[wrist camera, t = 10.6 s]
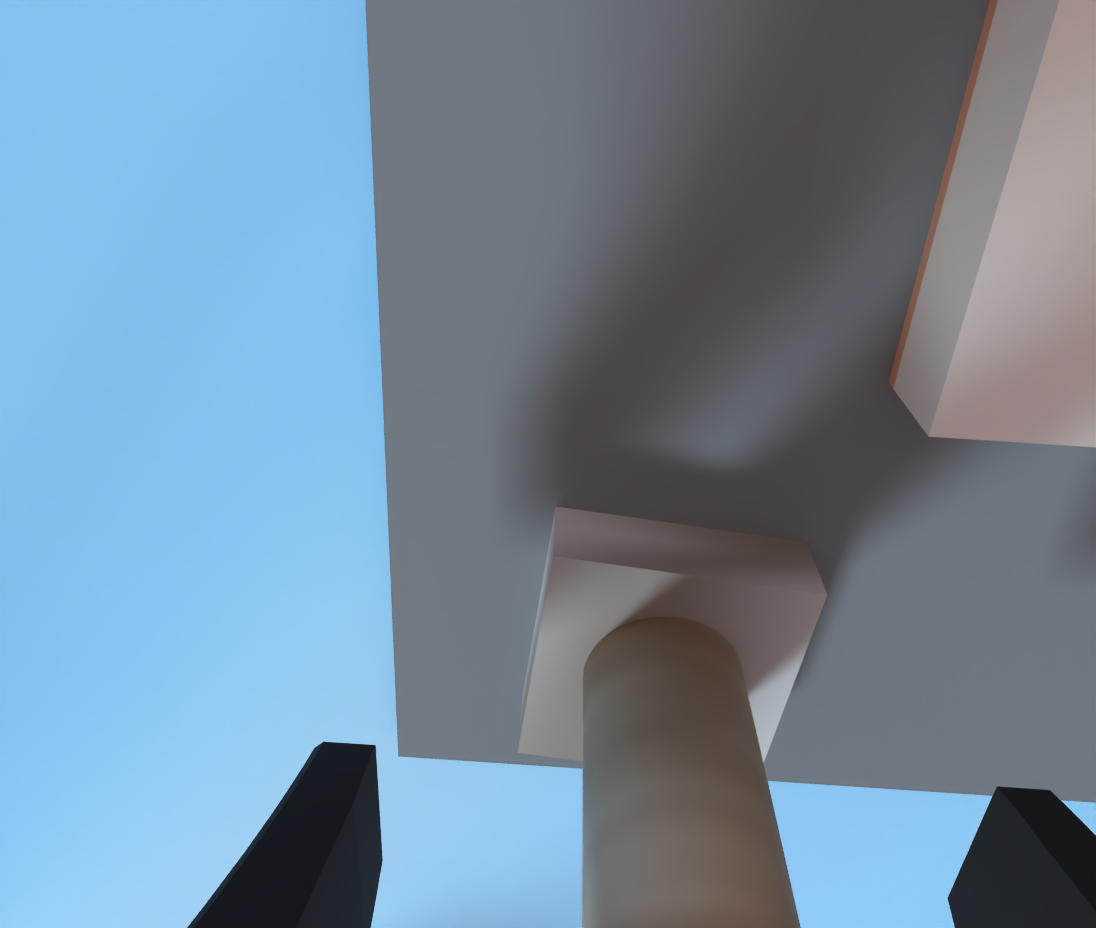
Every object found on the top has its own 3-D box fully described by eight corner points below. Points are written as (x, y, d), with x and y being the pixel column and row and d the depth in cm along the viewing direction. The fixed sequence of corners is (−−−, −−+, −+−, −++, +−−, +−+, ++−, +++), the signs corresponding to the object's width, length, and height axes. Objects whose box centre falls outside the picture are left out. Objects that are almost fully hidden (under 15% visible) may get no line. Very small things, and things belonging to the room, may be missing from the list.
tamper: (806, 542, 12) (1263, 1717, 4) (743, 723, 14) (969, 1803, 6) (555, 506, 12) (492, 1645, 4) (523, 694, 14) (430, 1758, 6)
